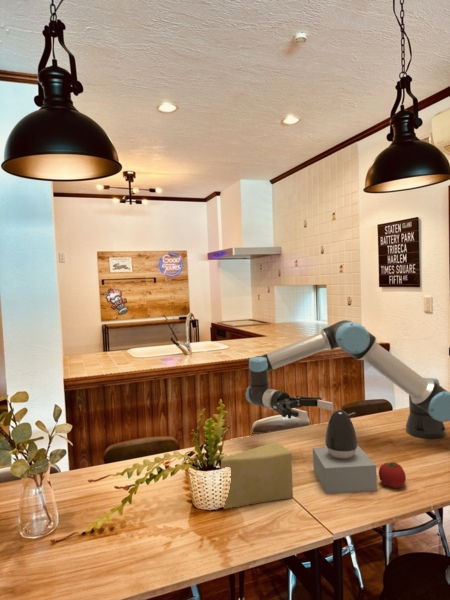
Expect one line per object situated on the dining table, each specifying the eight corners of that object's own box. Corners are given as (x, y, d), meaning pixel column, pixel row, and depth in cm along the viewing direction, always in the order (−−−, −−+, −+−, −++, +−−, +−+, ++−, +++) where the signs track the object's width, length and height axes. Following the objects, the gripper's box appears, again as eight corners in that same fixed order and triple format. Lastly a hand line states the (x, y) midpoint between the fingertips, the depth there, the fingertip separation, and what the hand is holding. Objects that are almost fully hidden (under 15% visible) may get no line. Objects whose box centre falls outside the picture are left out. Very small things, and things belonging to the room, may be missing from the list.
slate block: (358, 467, 138) (357, 445, 138) (377, 490, 122) (376, 465, 122) (313, 470, 138) (312, 447, 138) (326, 493, 122) (324, 468, 122)
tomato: (406, 493, 120) (405, 469, 120) (378, 488, 123) (377, 465, 123) (406, 481, 127) (405, 458, 127) (379, 477, 131) (378, 455, 130)
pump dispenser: (363, 461, 125) (360, 414, 124) (330, 463, 125) (328, 415, 124) (353, 449, 135) (351, 405, 134) (322, 450, 135) (320, 406, 135)
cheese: (227, 517, 112) (225, 465, 111) (215, 501, 121) (213, 453, 120) (294, 498, 120) (292, 450, 120) (278, 485, 129) (276, 439, 129)
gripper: (299, 402, 160) (343, 413, 143) (253, 417, 145) (295, 431, 128) (298, 384, 160) (341, 393, 143) (251, 397, 145) (294, 408, 128)
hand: (320, 411), depth 136 cm, fingers open, 13 cm apart
